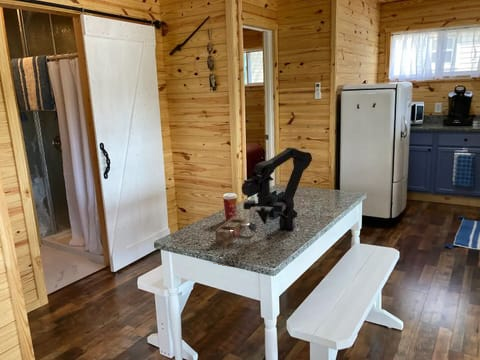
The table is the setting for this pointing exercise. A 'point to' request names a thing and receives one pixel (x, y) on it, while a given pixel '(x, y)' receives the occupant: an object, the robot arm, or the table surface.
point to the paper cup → (230, 205)
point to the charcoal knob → (249, 226)
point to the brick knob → (235, 233)
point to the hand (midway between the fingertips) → (265, 223)
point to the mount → (225, 235)
